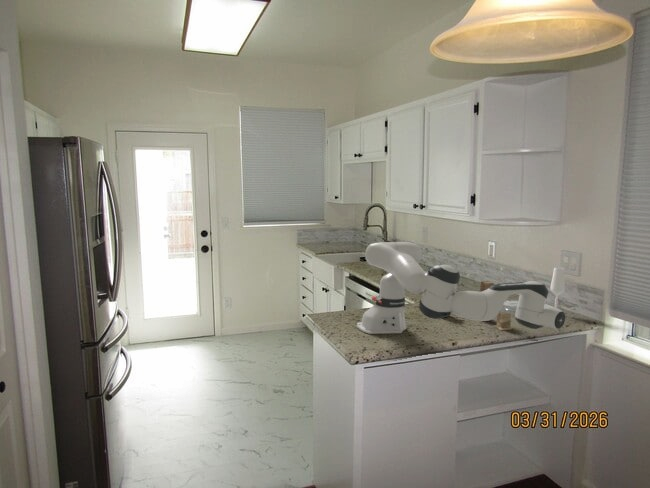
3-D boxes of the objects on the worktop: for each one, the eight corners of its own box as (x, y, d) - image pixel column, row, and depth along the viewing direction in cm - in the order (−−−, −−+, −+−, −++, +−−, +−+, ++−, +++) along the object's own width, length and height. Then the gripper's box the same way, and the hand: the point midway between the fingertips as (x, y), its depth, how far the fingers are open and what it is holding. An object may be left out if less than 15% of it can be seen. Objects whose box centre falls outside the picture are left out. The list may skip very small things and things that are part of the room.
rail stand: (513, 329, 203) (514, 313, 202) (500, 330, 201) (501, 314, 200) (478, 314, 227) (479, 300, 226) (466, 315, 224) (467, 300, 223)
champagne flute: (545, 312, 232) (549, 267, 229) (554, 311, 235) (558, 266, 232) (555, 316, 226) (560, 269, 223) (565, 314, 229) (569, 269, 226)
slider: (493, 314, 215) (495, 282, 213) (482, 315, 213) (485, 283, 211) (487, 312, 219) (489, 280, 217) (477, 313, 217) (479, 281, 215)
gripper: (510, 318, 186) (488, 310, 199) (548, 315, 192) (525, 307, 205) (511, 304, 185) (489, 296, 198) (549, 301, 192) (526, 293, 205)
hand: (507, 301), depth 202 cm, fingers closed
